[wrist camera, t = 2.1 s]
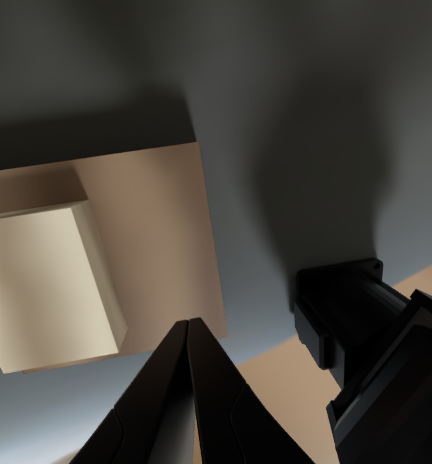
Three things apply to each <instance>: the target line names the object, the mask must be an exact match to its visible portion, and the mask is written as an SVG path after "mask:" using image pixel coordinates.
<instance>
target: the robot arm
mask: <svg viewBox="0 0 432 464" xmlns="http://www.w3.org/2000/svg"><path fill="white" fill-rule="evenodd" d="M375 264H376V265H375ZM374 265H375V266H374ZM373 266H374V267H373ZM382 273H383V262H382V261H380V260H379V259H377V258H370V259H364V260H359V261H353V262H347V263H341V264H335V265H330V266H324V267H318V268H312V269H306V270H301V271H299V272H298V273H297V275H296V291H297V298H296V299H295V300H294V316H295V328H296V330H297V331H298V337H299V340H300V341H301V343H302V344H305V345H306V347H307V348H308V350H309V352H310V353H311V355H312V357H313V358H314V360H315V362H316V363H317V365H318V367H319V368H321V369H322V370H327V369H329V371H330V373H331V374H332V376H333V377H334V379H335V380H336V382H337V384H338V385H339V387H340V388H341V392H340V393H339V394H338V395H337V397H336V398H335V399H334V401H333V400H331V401H330V403H329V404H328V405H327V407H326V410H327V414H328V418H329V422H330V426H331V430H332V434H333V438H334V442H335V449H336V452H337V454H338V459H339V463H340V464H432V296H431V295H429V294H427V293H424V292H422V291H420V290H418V289H415V291H414V292H413V293H412V295H411V296H410V298H411V300H410V299H408V298H407V297H405V296H404V295H402V294H401V293H399V292H398V291H396V290H395V289H393V288H392V287H390V286H389V285H387V284H386V283H384V282H383V281H382ZM303 276H306V277H305V278H304V279H302V277H303ZM195 413H196V420H197V428H198V435H199V442H200V449H201V457H202V464H315V463H314V462H313V461H312V460H311V458H309V456H308V455H307V454H306V453H305V452H304V451H303V450H302V449H301V448H300V446H298V444H297V443H296V442H295V441H294V440H293V439H292V438H291V437H290V436H289V434H288V433H287V432H286V431H285V430H284V429H283V428H282V427H281V426H280V424H279V423H278V422H277V421H276V420H275V419H274V418H273V416H272V415H271V414H270V413H269V412H268V411H267V410H266V408H265V407H264V406H263V404H262V403H261V401H260V400H259V399H258V397H257V396H256V395H255V394H254V392H253V391H252V389H251V388H250V386H249V385H248V384H247V383H246V381H245V379H244V378H243V377H242V375H241V374H240V372H239V371H238V369H237V368H236V367H235V365H234V364H233V362H232V361H231V359H230V358H229V356H228V355H227V354H226V352H225V351H224V349H223V348H222V346H221V345H220V344H219V342H218V341H217V339H216V338H215V336H214V335H213V334H212V332H211V331H210V329H209V328H208V326H207V325H206V324H205V322H204V321H203V319H202V318H201V317H197V318H191V319H189V320H187V319H185V320H180V321H176V322H175V323H174V325H173V326H172V328H171V329H170V330H169V332H168V333H167V334H166V336H165V337H164V338H163V340H162V341H161V343H160V344H159V345H158V347H157V348H156V349H155V351H154V352H153V353H152V355H151V356H150V357H149V359H148V360H147V362H146V363H145V364H144V366H143V367H142V368H141V370H140V371H139V372H138V374H137V375H136V377H135V378H134V379H133V381H132V382H131V383H130V385H129V386H128V387H127V389H126V390H125V391H124V393H123V394H122V396H121V397H120V398H119V400H118V401H117V402H116V404H115V405H114V409H111V410H110V412H109V413H108V414H107V416H106V417H105V418H104V420H103V421H102V423H101V424H100V425H99V426H98V428H97V429H96V430H95V432H94V433H93V434H92V436H91V437H90V438H89V439H88V441H87V442H86V443H85V445H84V446H83V447H82V448H81V449H80V451H79V452H78V453H77V454H76V456H75V457H74V458H73V459H72V460H71V462H70V463H69V464H193V449H194V429H195Z"/></svg>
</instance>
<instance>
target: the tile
mask: <svg viewBox="0 0 432 464" xmlns="http://www.w3.org/2000/svg"><path fill="white" fill-rule="evenodd" d="M127 329H128V327H127V324H126V320H125V317H124V314H123V310H122V307H121V304H120V301H119V297H118V294H117V291H116V287H115V284H114V281H113V278H112V274H111V271H110V268H109V264H108V261H107V258H106V255H105V251H104V248H103V245H102V241H101V238H100V235H99V231H98V228H97V225H96V222H95V218H94V215H93V212H92V208H91V205H90V202H89V200H84V201H77V202H70V203H64V204H57V205H51V206H44V207H38V208H31V209H25V210H18V211H11V212H5V213H0V368H1V369H2V371H3V373H4V374H5V373H10V372H16V371H21V370H27V369H32V368H38V367H43V366H49V365H54V364H60V363H65V362H71V361H76V360H82V359H87V358H93V357H98V356H103V355H109V354H114V353H119V350H120V348H121V345H122V342H123V339H124V337H125V334H126V331H127Z"/></svg>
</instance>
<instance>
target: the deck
mask: <svg viewBox="0 0 432 464" xmlns="http://www.w3.org/2000/svg"><path fill="white" fill-rule="evenodd" d="M84 200H89V202H90V205H91V208H92V212H93V215H94V218H95V222H96V225H97V228H98V231H99V235H100V238H101V241H102V245H103V248H104V251H105V255H106V258H107V261H108V264H109V268H110V271H111V274H112V278H113V281H114V284H115V287H116V291H117V294H118V297H119V301H120V304H121V307H122V310H123V314H124V317H125V320H126V324H127V327H128V329H127V331H126V334H125V337H124V339H123V342H122V345H121V348H120V350H119V353H114V354H109V355H103V356H98V357H93V358H87V359H82V360H76V361H71V362H65V363H60V364H54V365H49V366H43V367H38V368H32V369H27V370H22V372H23V374H26V373H32V372H37V371H43V370H48V369H54V368H59V367H65V366H70V365H75V364H81V363H86V362H92V361H97V360H103V359H108V358H114V357H119V356H125V355H130V354H136V353H141V352H147V351H152V350H155V349H156V348H157V347H158V345H159V344H160V343H161V341H162V340H163V338H164V337H165V336H166V334H167V333H168V332H169V330H170V329H171V328H172V326H173V325H174V323H175V322H176V321H180V320H185V319H187V320H189V319H191V318H197V317H201V318H202V319H203V321H204V322H205V324H206V325H207V326H208V328H209V329H210V331H211V332H212V334H213V335H214V336H215V338H216V339H218V338H223V337H228V332H227V326H226V319H225V313H224V306H223V299H222V293H221V286H220V280H219V273H218V266H217V260H216V253H215V247H214V240H213V234H212V227H211V220H210V214H209V207H208V201H207V194H206V187H205V181H204V174H203V168H202V161H201V155H200V148H199V142H193V143H186V144H179V145H172V146H165V147H159V148H152V149H145V150H138V151H131V152H124V153H117V154H110V155H103V156H96V157H90V158H83V159H76V160H69V161H62V162H55V163H48V164H41V165H34V166H27V167H20V168H14V169H7V170H0V213H5V212H11V211H18V210H25V209H31V208H38V207H44V206H51V205H57V204H64V203H70V202H77V201H84Z"/></svg>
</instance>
